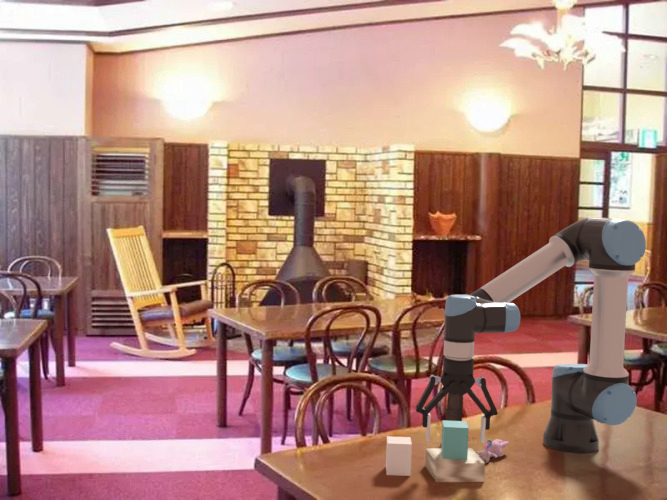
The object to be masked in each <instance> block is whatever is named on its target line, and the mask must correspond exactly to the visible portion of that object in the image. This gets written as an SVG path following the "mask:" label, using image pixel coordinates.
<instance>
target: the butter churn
mask: <svg viewBox="0 0 667 500" xmlns="http://www.w3.org/2000/svg"><path fill="white" fill-rule="evenodd" d="M446 400H447V402H446V403H447V404H446V410H445V411H446V412H445V419H444V420H446V421H463V411H464V410H463V406H464V395H459V394H456V395H451V394H449V393H448V394H447V399H446Z"/></svg>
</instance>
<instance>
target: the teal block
mask: <svg viewBox="0 0 667 500" xmlns="http://www.w3.org/2000/svg"><path fill="white" fill-rule="evenodd" d="M441 421H442V423H441V424H442V426H441V446H440V448H441V452H442V457H443V459H460V460H467V455H468V448H469V425H468V422H467V421H466V420H462V421H446V420H445V419H444V420H441Z"/></svg>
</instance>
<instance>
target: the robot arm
mask: <svg viewBox="0 0 667 500" xmlns="http://www.w3.org/2000/svg"><path fill="white" fill-rule="evenodd" d="M646 249H647V240H646V235H645V234H644V232H643V230H642V228H640V227H639V225H638V224H637V223H635V222H634V221H631V220H630V219H629V220H628V219H623V218H620V217H619V218H618V217H616V218H613V217H611V218H610V217H596V216H590V217H586V218H582V219H580V220H578V221H575V222H574V223H572V224H570V225H568V226H567V227H565V228H563V229H561V230H560V231H558V232H557V233H556V234H554V235H552V236H551V237H550V238H549V241H548V243H547V244H545V245H544V246H542V247H541V248H539V249H538V250H536V251H535V252H533V253H532V254H530V255H529V256H527V257H526V258H524V259H522V260H521V261H519V262H518V263H516V264H515V265H513V266H512V267H510V268H509V269H507V270H506V271H504V272H503V273H501V274H499V275H498V276H497V277H495V278H493V279H492V280H490V281H489V282H488V283H485V284H484V285H482V286H481V287H480V288H478V289H477V290H475V291H473V292H472V293H469V294H468V293H466V294H451V295H450V294H449V295H448V296H447V297H446V299H445V307H444V332H443V333H444V334H443V339H444V340H443V356H444V357H443V359H442V374H441V376H438V375H434V374H430V376H429V379H428V380H429V381H428V384H427V386H426V388H425V389H424V391H423V393H422V395H421V396H420V398H419V400H418V401H417V404H416V405H415V411H416V413H419V414H421V415H422V417H421V418H422V419H421V422H422V423H421V425H422V428H426V429H425V430H426V433H425V440H426V442H428V443H429V442H431V426H432V425H431V423H432V422H431V421H432V415H431V413H430V412H432V410H433V409H434V408H435V407H436V406H437V405H438V404H439V403H440V402H441V401H442V400H443V398H444V397H446V396H448V393H449V394H451V395H456V394H459V395H463V396H464V395H466V394H467V395H468V396H469V397H470V399H471V400H472V401H473V402H474V403H475V405H476V406H477V407H478V409H480V412H482V414H481V415H480V440H479V441H480V443H481V444H483V445H484V444H485V445H486V430H487V431H489V430H490V428H491V427H490V426H491V417H493V416H497V415H498V414H499V411H498V410H497V407H496V406H495V403H494V401H493V398H492V397H491V394H490V392H489V390H488V388H487V380H486V378H485V377H484V376H482V375H481V376H480V377H474V358H473V357H475V341H476V340H475V338H476V334H487V333H488V334H491V333H492V334H497V333H498V334H499V333H501V334H506V333H513V332H516V331H517V330H518V328H519V327H520V324H521V312H520V309H519V307H518V306H517V305H516V304H515V303H513V302H512V301H513V300H515V299H516V298H518V297H519V296H521V295H522V294H524V293H526V292H527V291H529V290H531V289H532V288H533V287H535V286H537V285H538V284H539V283H541V282H542V281H544V280H546V279H547V278H549V277H550V276H552V275H553V274H554V273H556V272H558V271H559V270H560V269H563V268H564V267H567V268H571V267H572V266H575V264H577V263H579V262H582V261H587V260H588V269H589V270H590V272H591V273H592V274H593V290H592V291H593V294H592V307H591V308H592V310H591V311H592V313H591V314H592V315H591V328H590V329H591V330H590V346H589V347H590V348H589V361H588V362H589V363H588V364H586V363H561V364H557V365H555V366H554V367H553V369H552V376H551V397H550V398H551V402H550V403H551V405H550V417H549V420H548V422H547V424H546V427H545V430H544V431H543V434H542V435H543V436H542V438H543V439H542V443H543V445H545V446H547V447H549V448H550V449H553V450H557V451H562V452H566V453H574V454H575V453H578V454H579V453H581V454H582V453H585V454H586V453H593V452H596V451H598V449H599V443H600V440H599V437H598V433H597V428H596V425H595V422H594V421H596V422H598V423H600V424H605V425H608V426H619V425H621V424H623V423H625V422H626V421H627V420H628V418H630V417H631V416H632V415H634V412H635V409H636V407H637V403H638V401H637V399H638V398H637V394H636V391H635V390H634V389H633V387H632V386H631V385H629V381H630V380H629V378H630V373H629V371H628V370H626V369H625V367H624V361H625V359H624V357H625V345H626V344H625V340H626V323H627V321H626V320H627V307H628V288H629V277H630V276H631V275H632V274H634V273H635V272H636V264H637V263H639V262H640V261H641V260H642V257H643V258H644V255H645V253H646ZM439 382H440V383H441V385H442V387H441V388H440V390H439V391H438V392H437V393H436V395H434V397H432V399H431V400H430V401H429V402H427V401H428V399H429V397H430V395H431V393H432V392H433V389H434V388H435V386H437V385H438V384H439ZM474 384H477V386H478V387H480V388H481V391H482V394H483V395H484V398H485V400H486V402H487V404H488V406H489V409H487V407H486V406H485V405H484V403H482V401H481V400H480V399H479V397H478V396H477V395H476V393H474V391H473V389H472V387H473V386H474ZM426 402H427V404H426ZM425 404H426V405H425Z"/></svg>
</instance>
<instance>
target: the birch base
mask: <svg viewBox="0 0 667 500" xmlns="http://www.w3.org/2000/svg"><path fill="white" fill-rule="evenodd" d="M477 454H478V453H476V451H475V450H474V449H473V448H472V447H468V455H467V460H460V459H443V457H442V452H441V447H439V448H438V447H437V448H435V447H432V448H425V462H424V463H425V467H426V469H427V472H429V474H430V475H431V476H432V478H433V480H434V479H435V480H434V481H435V482H436V483H469V482H470V483H475V482H476V483H477V482H478V483H480V482H481V483H482V482H483V483H484V482H485V478H486V477H485V474H486V473H485V472H486V463H484V461H483V460H482V459H481V458H480V457H479V456H478V455H477Z"/></svg>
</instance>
